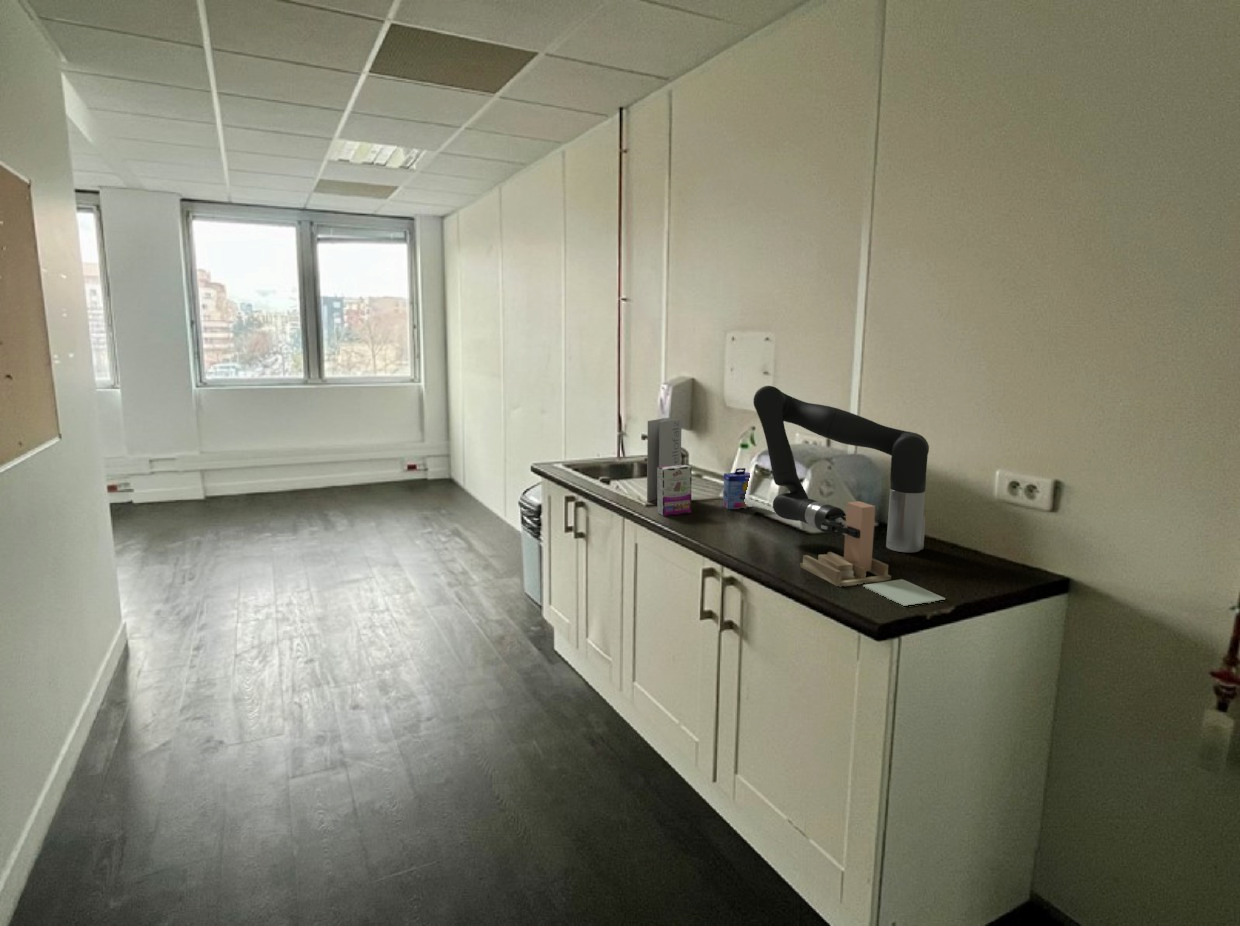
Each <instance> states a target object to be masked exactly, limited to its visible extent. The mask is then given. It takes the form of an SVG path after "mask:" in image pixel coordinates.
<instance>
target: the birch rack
mask: <svg viewBox="0 0 1240 926" xmlns="http://www.w3.org/2000/svg"><path fill="white" fill-rule="evenodd" d="M827 554H834V555H836V556H838V557H840V558H842V559H843V560H845V561H847V562H849V563H851V564H853V571H854V574H853V576H855V579H852V580H845V581H840V579H841V571H839V570H837V569H835V568H833V567H831V566H829V565H827V564H825V563H823V562H821V561H819V560H818V559H817V558H814V557H812V556H810V555H809V554H806V555H804V554H803V556H802V562H800V563H799V567H800V568H801V569H803V570H805V571H807V572H808V573H812V574H813V575H815V576H817V577H819V578H820V579H822V580H825V581H826V582H829V583H830V584H832V585H834V586H836V587H838V586H839V587H838V588H843V587H842V586H844V587H851V586H857V584H858V585H864V584H863V583H865V584H873V583H880V582H886V581H892V580H891V579H892V575H890V574H889V564H887V563H885V562H882V561H881V560H878V559H876V558H873V557H872V565H871V571H866V568H865V567H863V566H861V565H859V564H857V563H854V562H852V561H850V560H848V559H846V558H844V556H841V555H839V554H837V553H834V552H832V551H828V552H827ZM867 572H868V573H871V574H873V575H874V576H867ZM866 576H867V577H866Z"/></svg>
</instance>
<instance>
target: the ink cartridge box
mask: <svg viewBox="0 0 1240 926" xmlns="http://www.w3.org/2000/svg"><path fill="white" fill-rule="evenodd" d="M750 473H751V472H746V468H745V467H743V468H741V467H740V468H738V467H737V468H736V469H735V471H734V472H726V473H723V494H722V496H723V497H722V498H723V499H722V507H724V508H726V509H727V510H739V509H740V508H744V509H747V508H746V504H745V502H744V499H745V494H746V490H747V487H748V481H749V478H750Z"/></svg>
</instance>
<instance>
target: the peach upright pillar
mask: <svg viewBox="0 0 1240 926" xmlns="http://www.w3.org/2000/svg"><path fill="white" fill-rule="evenodd" d="M845 510H846V511H845V514H846V524H847V525H849V527H853V528H856V529H859V530H860V538H855V537H852V536H850V535H847V536H846V535H844V545H843V558H846V559H848V560H850V561H852V562H854V563H857V564H859V565H861V566H863V567H865V568H866V572H868V571H871V565H872V558H873V549H874V548H873V547H874V536H873V534H874V528H875V517H876V506H875V505H873V504H870V503H867V502H863V501H861V500H859V501H848V502H846V509H845Z"/></svg>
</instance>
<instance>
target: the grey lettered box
mask: <svg viewBox="0 0 1240 926" xmlns="http://www.w3.org/2000/svg"><path fill="white" fill-rule="evenodd" d="M682 426H683V425H682V418H677V419H671V418H670V417H664V418H657V419H651V420H647V440H646V441H647V444H646V445H647V447H646V448H647V449H646V450H647V451H646V453H647V454H646V458H647V459H646V460H647V462H646V463H647V464H646V466H647V467H646V475H647V476H646V502H647V503H648V502H652V500H653V501H655V500H657V467H666V466H676V465H682Z"/></svg>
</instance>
